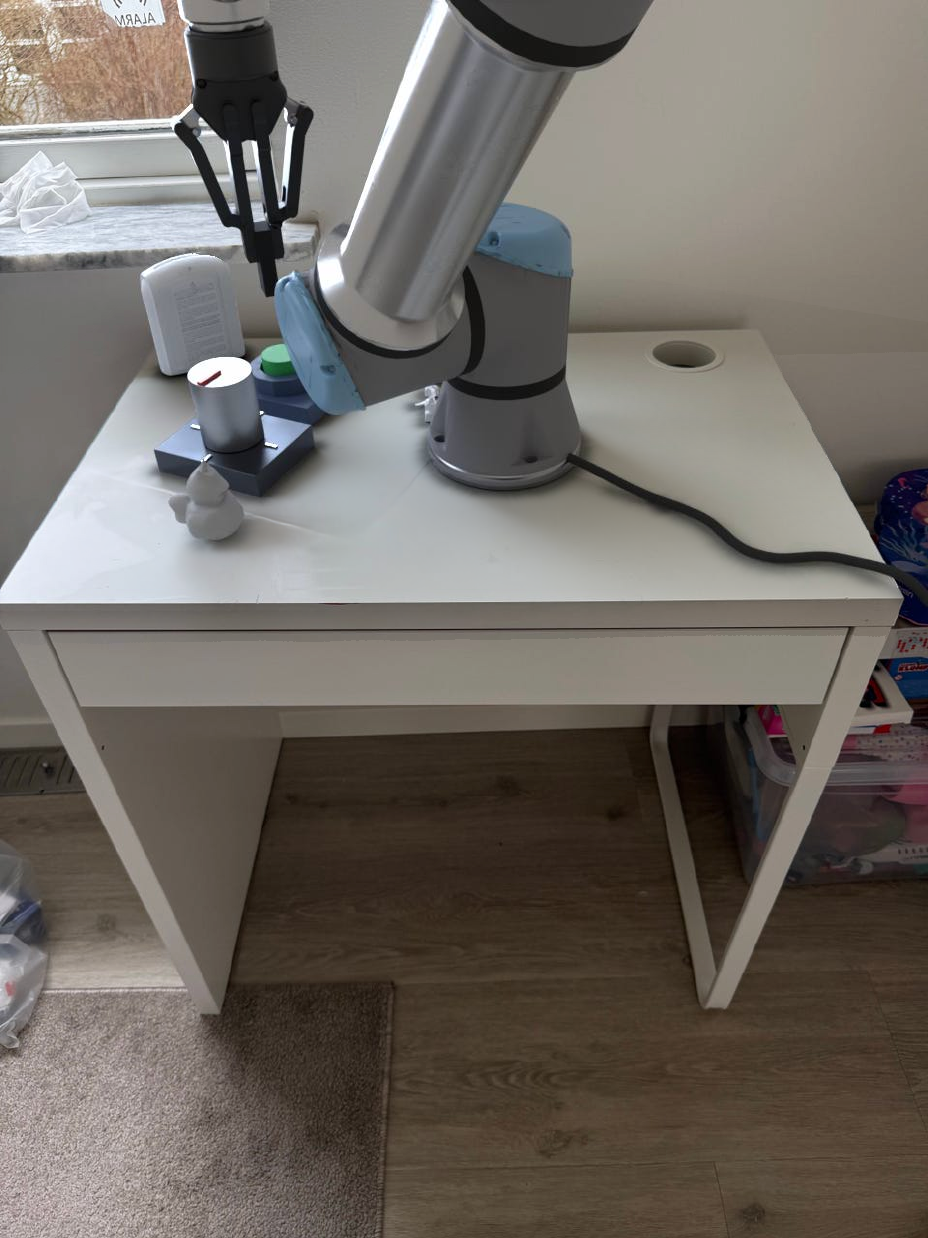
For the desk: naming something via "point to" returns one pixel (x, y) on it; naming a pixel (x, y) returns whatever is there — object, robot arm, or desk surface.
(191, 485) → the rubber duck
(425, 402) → the figurines set
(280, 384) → the block
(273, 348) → the button
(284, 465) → the dial panel
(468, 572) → the desk surface
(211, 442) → the dial
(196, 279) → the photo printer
